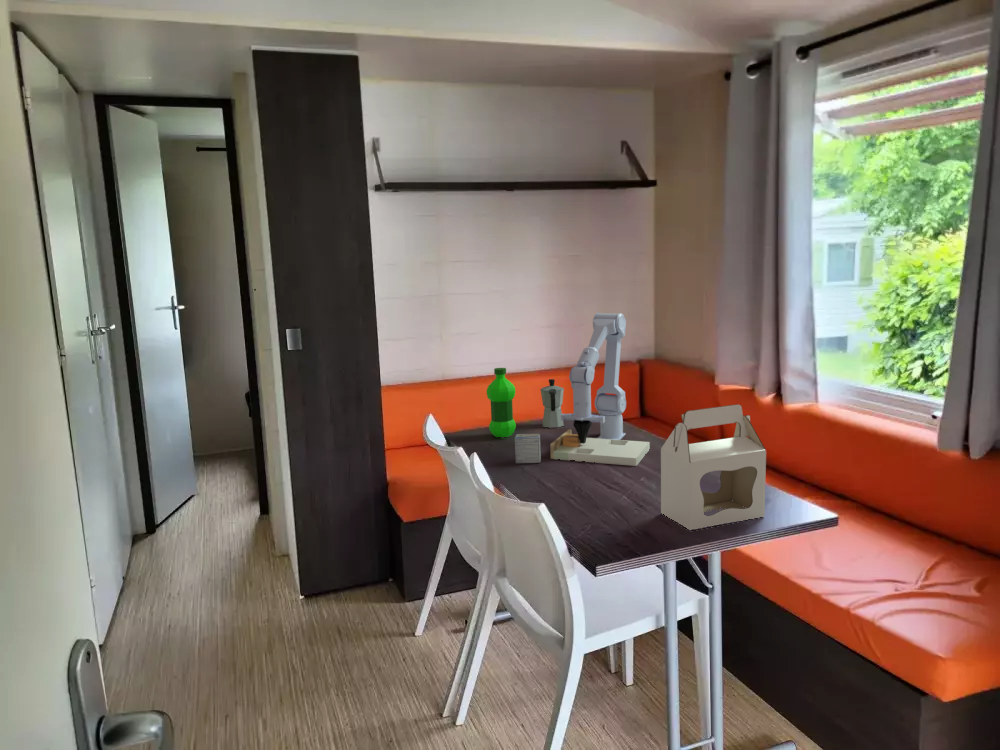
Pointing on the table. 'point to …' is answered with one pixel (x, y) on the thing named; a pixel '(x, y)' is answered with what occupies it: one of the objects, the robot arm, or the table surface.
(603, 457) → the deck
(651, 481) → the table surface
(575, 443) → the block
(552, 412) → the coffee maker
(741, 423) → the gable box
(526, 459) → the medicine box
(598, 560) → the table surface
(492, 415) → the plastic bottle
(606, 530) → the table surface
